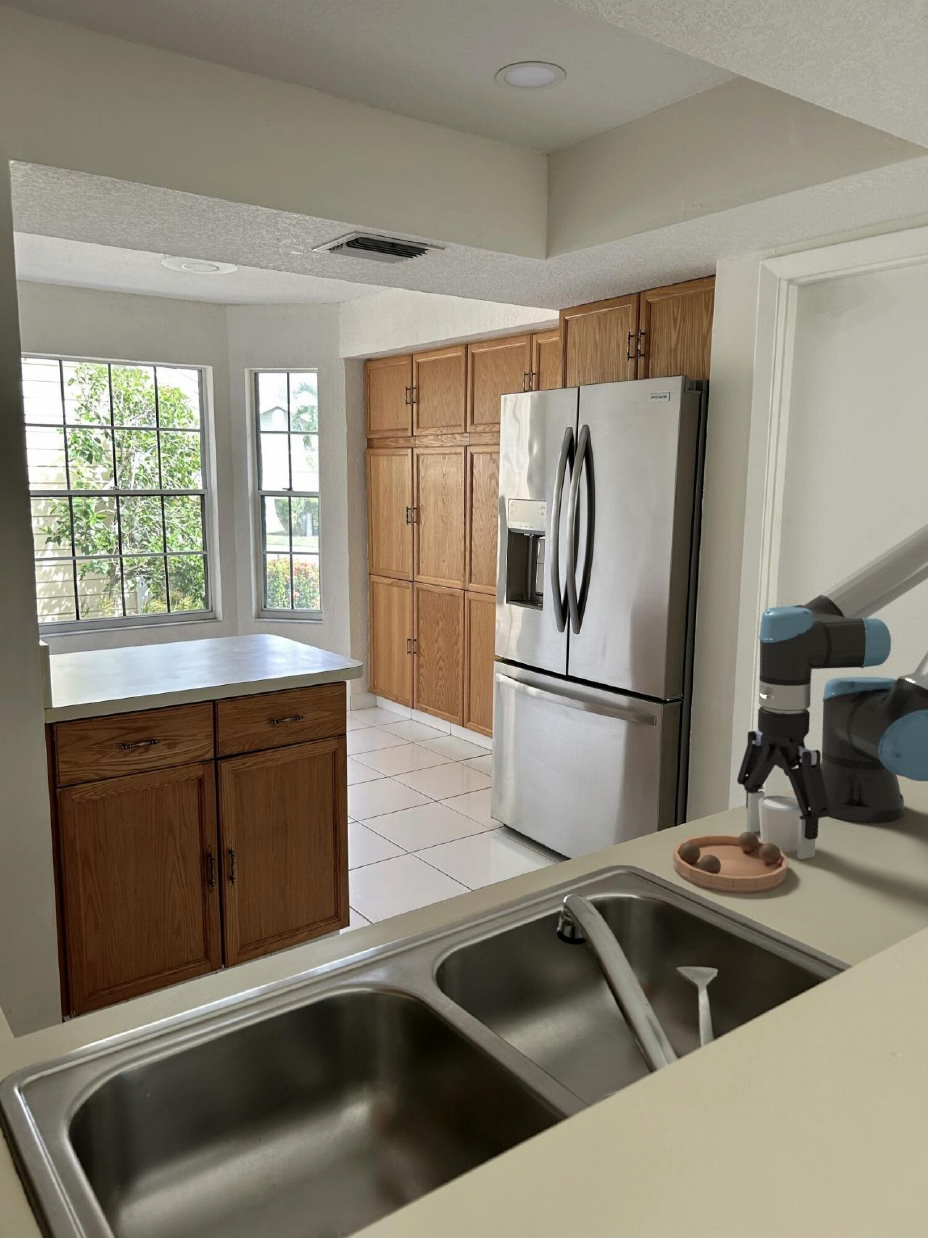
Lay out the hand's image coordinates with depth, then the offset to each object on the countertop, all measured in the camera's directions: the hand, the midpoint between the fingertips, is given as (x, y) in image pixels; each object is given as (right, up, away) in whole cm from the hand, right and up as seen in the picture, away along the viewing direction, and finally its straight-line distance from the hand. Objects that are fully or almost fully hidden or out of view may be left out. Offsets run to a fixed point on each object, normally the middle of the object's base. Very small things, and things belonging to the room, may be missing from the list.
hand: (779, 843), depth 144 cm
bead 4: (-5, +1, -9) cm, 11 cm away
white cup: (0, 0, 0) cm, 0 cm away
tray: (-10, -2, -9) cm, 14 cm away
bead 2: (-14, 0, -13) cm, 20 cm away
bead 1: (-16, +1, -9) cm, 18 cm away
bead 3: (-6, +2, -5) cm, 8 cm away
